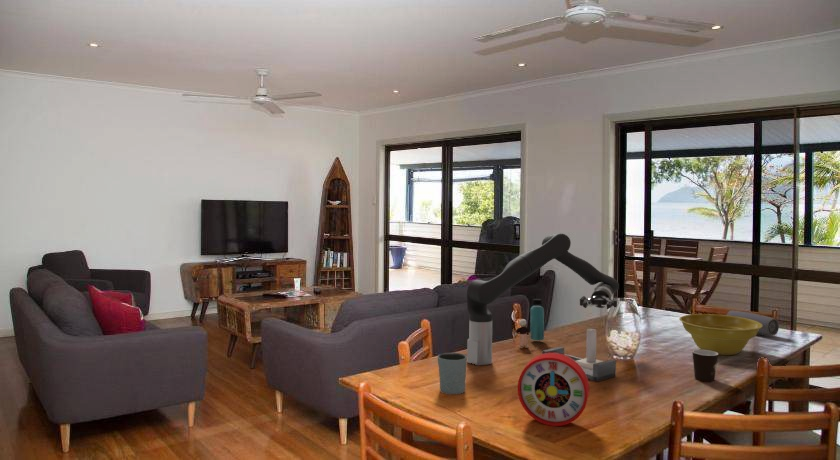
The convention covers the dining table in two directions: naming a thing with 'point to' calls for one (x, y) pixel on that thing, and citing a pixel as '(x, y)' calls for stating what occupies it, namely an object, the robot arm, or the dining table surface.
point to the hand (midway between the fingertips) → (596, 306)
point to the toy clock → (553, 389)
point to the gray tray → (599, 369)
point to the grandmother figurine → (523, 334)
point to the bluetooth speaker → (768, 323)
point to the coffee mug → (704, 365)
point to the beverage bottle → (537, 321)
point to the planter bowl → (720, 332)
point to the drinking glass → (452, 372)
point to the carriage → (590, 351)
